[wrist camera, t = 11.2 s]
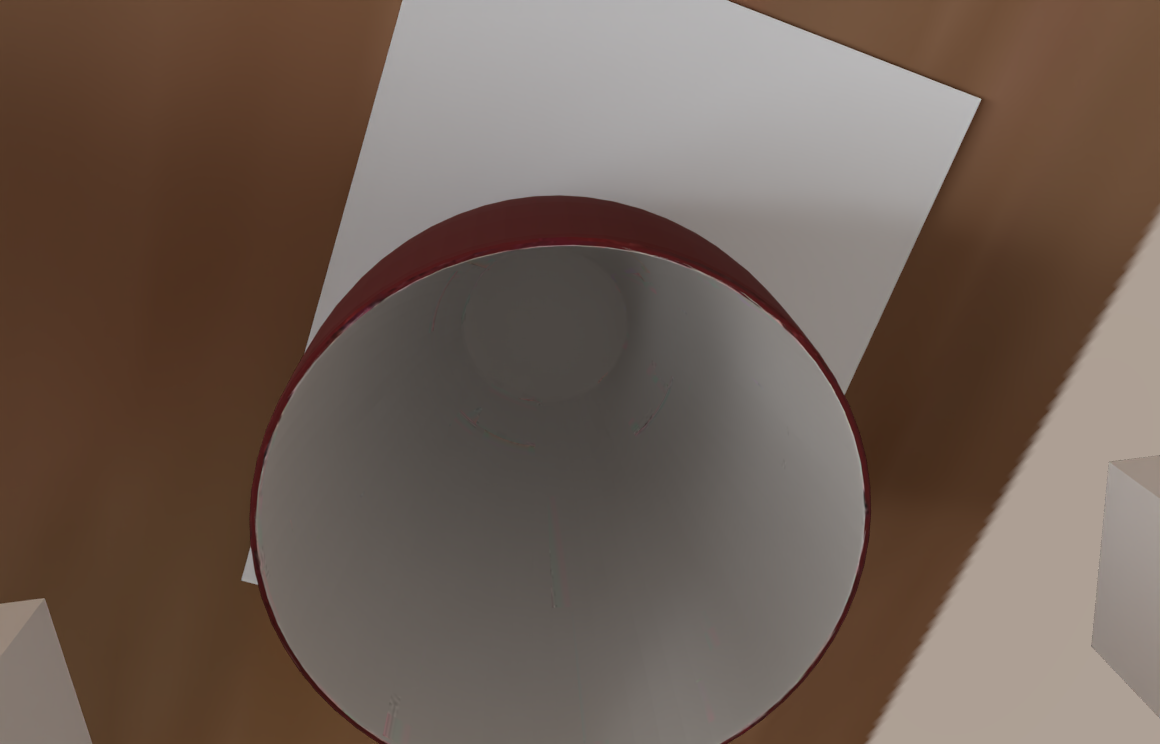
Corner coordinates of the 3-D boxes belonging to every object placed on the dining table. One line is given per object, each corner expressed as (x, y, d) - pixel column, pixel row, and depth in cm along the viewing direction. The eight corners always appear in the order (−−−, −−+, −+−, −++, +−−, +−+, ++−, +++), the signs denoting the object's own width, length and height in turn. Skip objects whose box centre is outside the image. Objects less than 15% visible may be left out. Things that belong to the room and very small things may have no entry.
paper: (700, 694, 26) (702, 701, 26) (244, 574, 24) (241, 580, 24) (974, 97, 21) (981, 98, 21) (435, -112, 20) (434, -114, 19)
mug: (876, 357, 23) (1124, 592, 14) (649, 600, 25) (730, 955, 15) (514, 54, 20) (510, 84, 11) (289, 351, 22) (120, 597, 13)
